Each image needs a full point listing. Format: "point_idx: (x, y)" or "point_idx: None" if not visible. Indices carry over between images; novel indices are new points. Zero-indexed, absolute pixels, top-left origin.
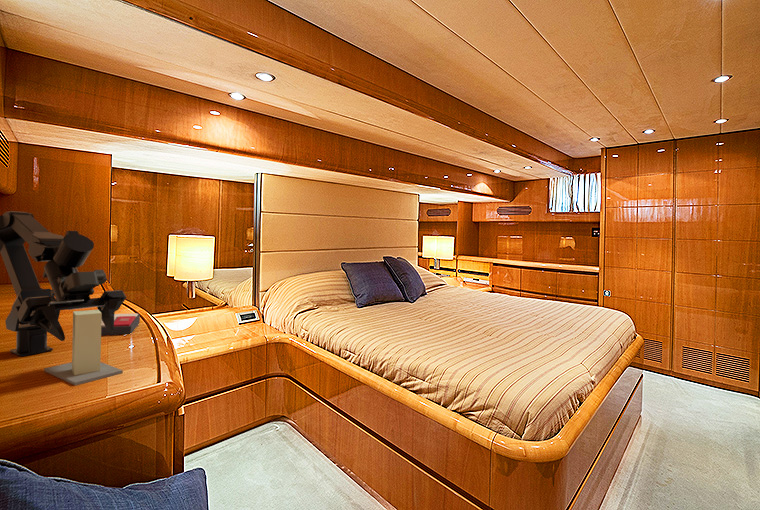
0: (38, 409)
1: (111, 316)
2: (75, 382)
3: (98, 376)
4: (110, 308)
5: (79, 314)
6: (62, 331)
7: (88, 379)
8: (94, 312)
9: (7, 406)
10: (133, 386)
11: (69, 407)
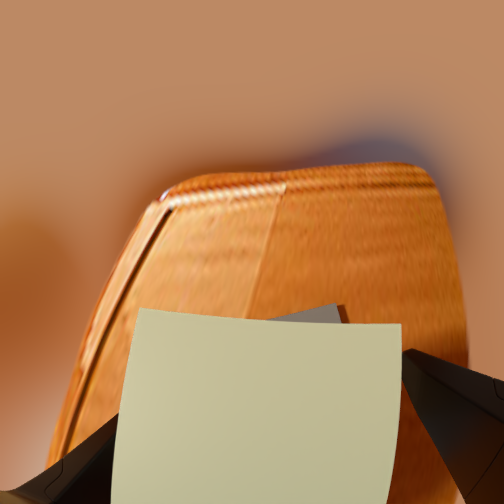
0: (401, 200)
1: (73, 461)
2: (334, 304)
3: (269, 319)
4: (31, 501)
5: (360, 344)
6: (428, 369)
7: (299, 313)
8: (181, 391)
9: (453, 250)
10: (220, 214)
11: (352, 178)
